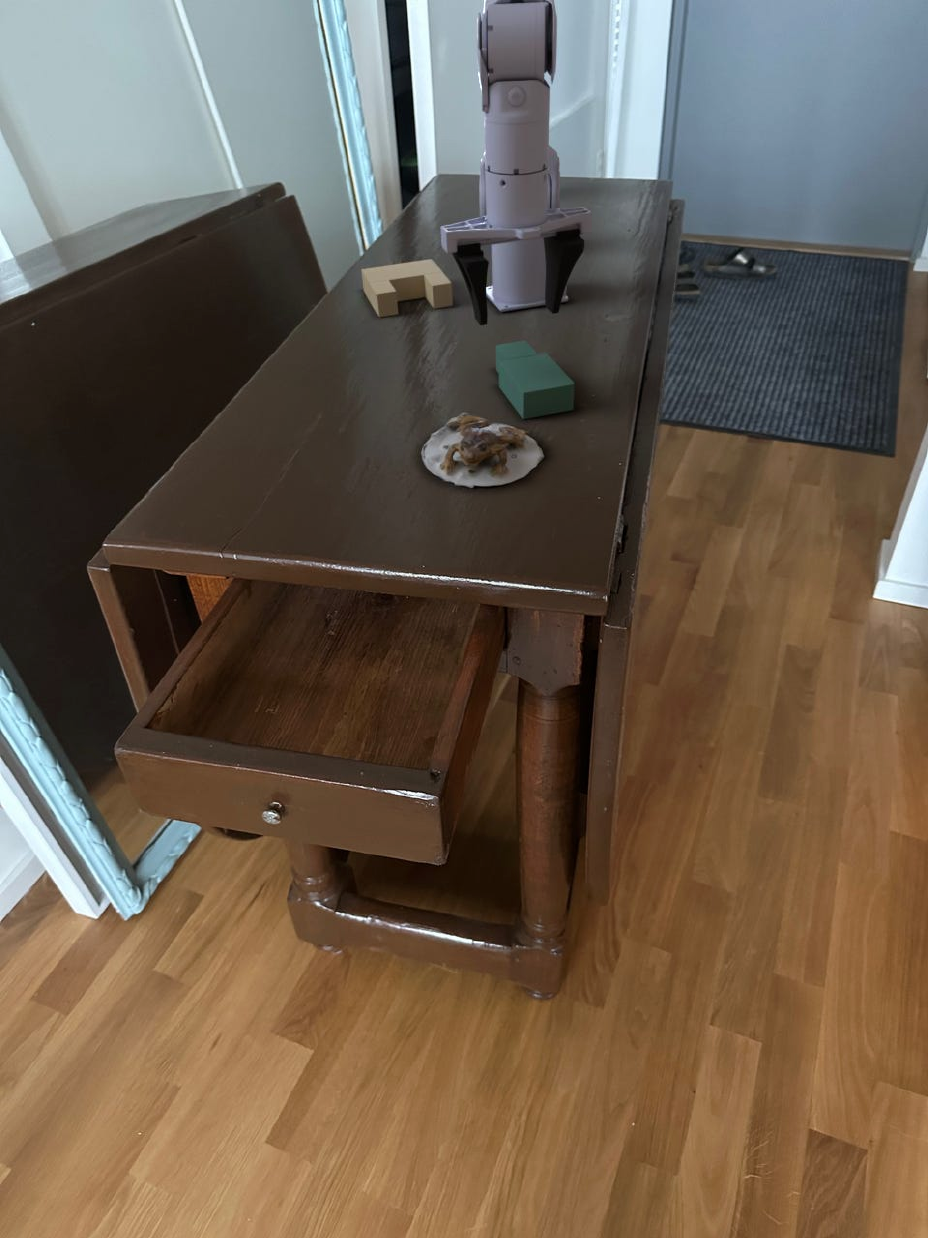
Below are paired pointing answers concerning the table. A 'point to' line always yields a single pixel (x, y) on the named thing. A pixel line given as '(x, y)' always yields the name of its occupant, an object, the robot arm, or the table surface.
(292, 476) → the table surface
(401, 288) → the sand u-shaped block
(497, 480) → the frog figurine
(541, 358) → the green block
